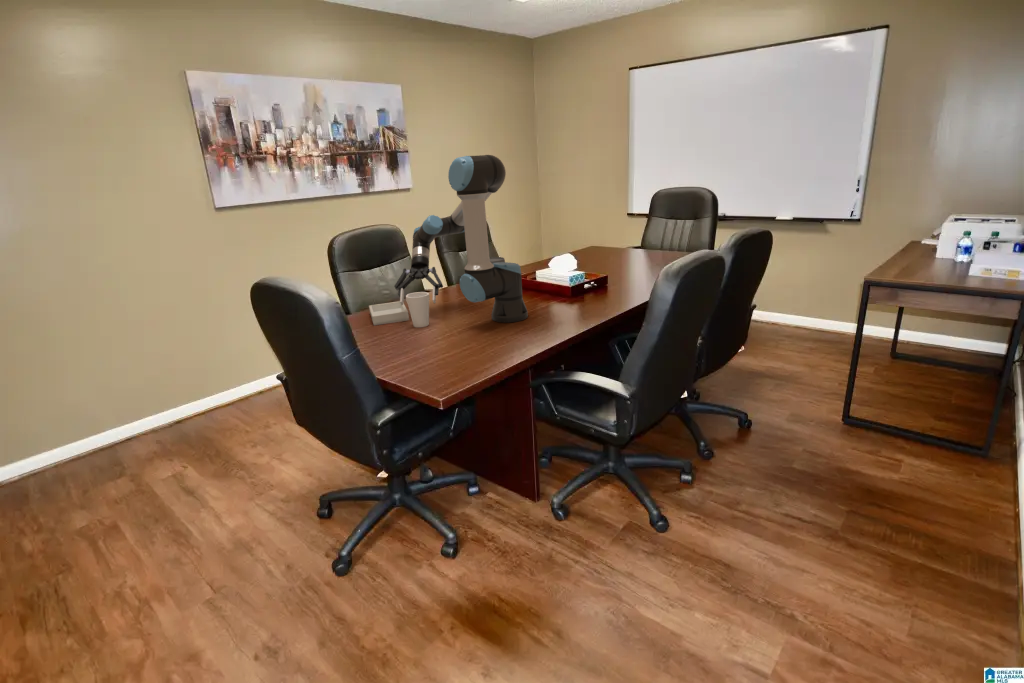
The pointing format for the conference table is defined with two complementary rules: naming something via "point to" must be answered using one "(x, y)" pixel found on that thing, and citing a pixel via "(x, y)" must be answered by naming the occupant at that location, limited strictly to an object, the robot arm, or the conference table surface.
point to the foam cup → (419, 308)
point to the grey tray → (388, 313)
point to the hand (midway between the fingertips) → (417, 302)
